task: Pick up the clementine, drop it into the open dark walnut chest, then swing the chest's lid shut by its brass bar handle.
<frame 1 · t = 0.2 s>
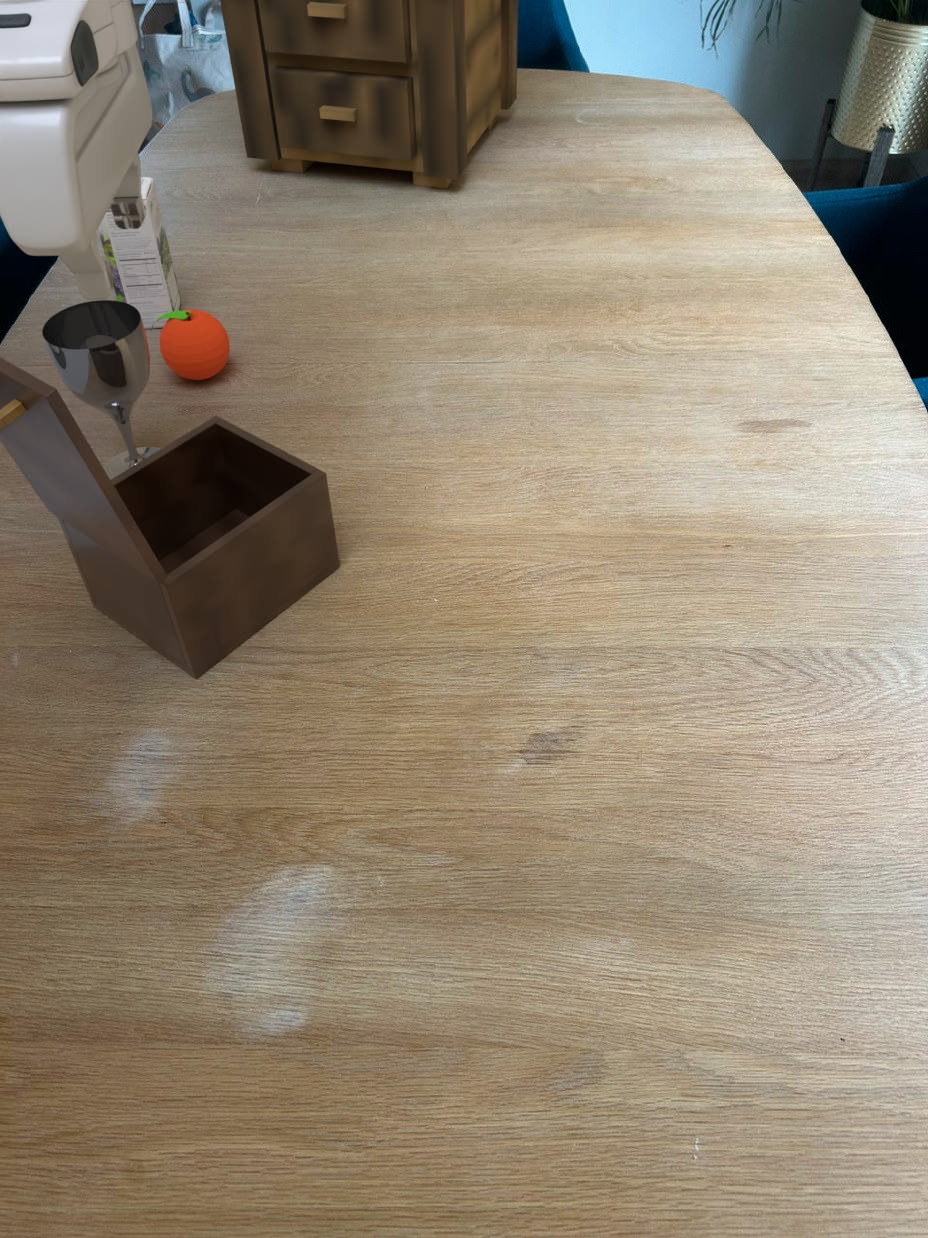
hand: (116, 257, 64), 27 cm above the table, tool pointing down, fingers open, 8 cm apart
lid: (27, 478, 63), point 18 cm above the table, hinge at 100.0°
clementine: (197, 375, 104), on the table
chest: (218, 586, 82), on the table
wooden drawer cabinet: (389, 144, 146), on the table
syrup box: (155, 318, 113), on the table
wine glass: (139, 472, 93), on the table
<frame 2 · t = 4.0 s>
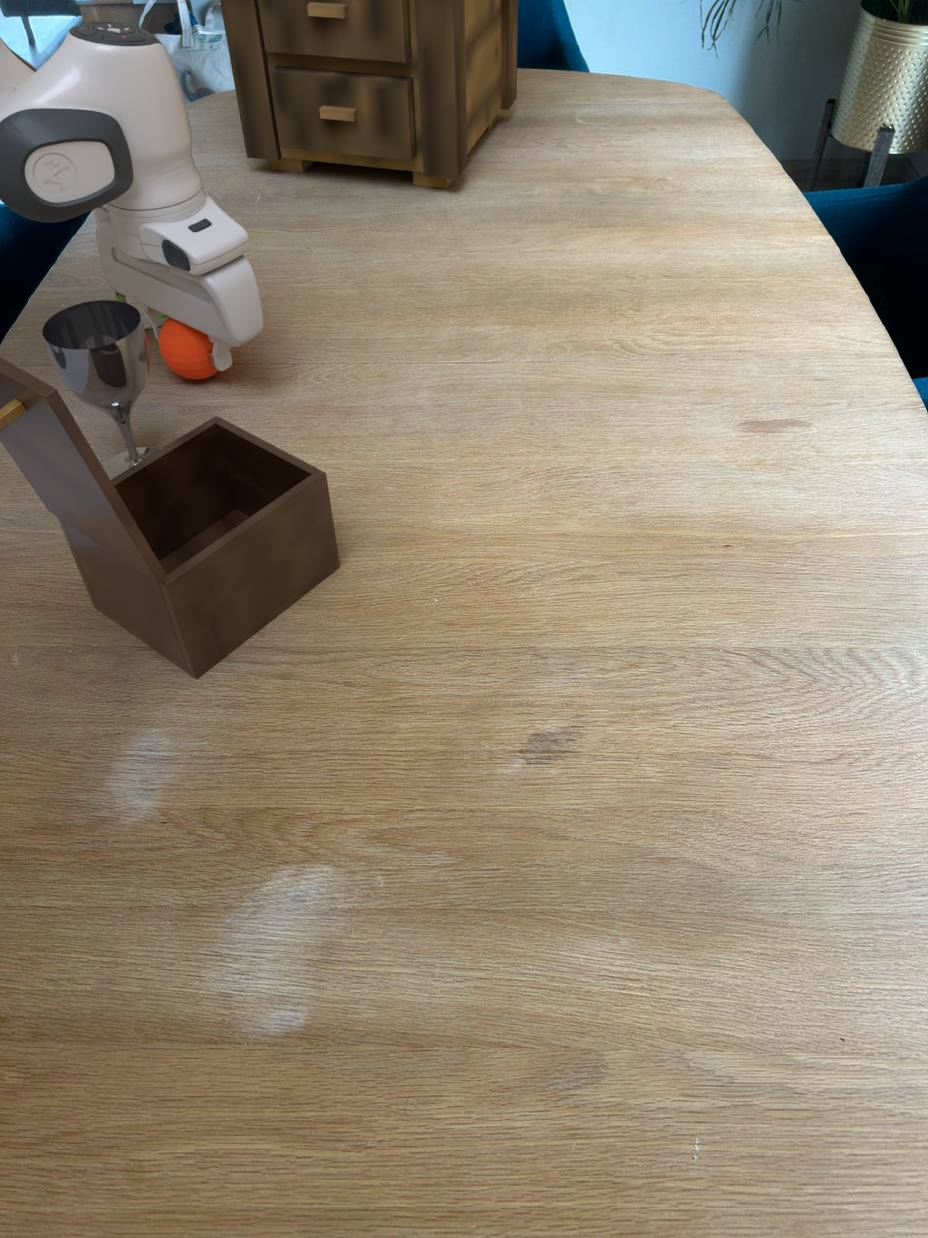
hand: (194, 353, 102), 2 cm above the table, tool pointing down, fingers closed on clementine, 7 cm apart
clementine: (196, 375, 104), on the table, touching gripper
everything else where it was.
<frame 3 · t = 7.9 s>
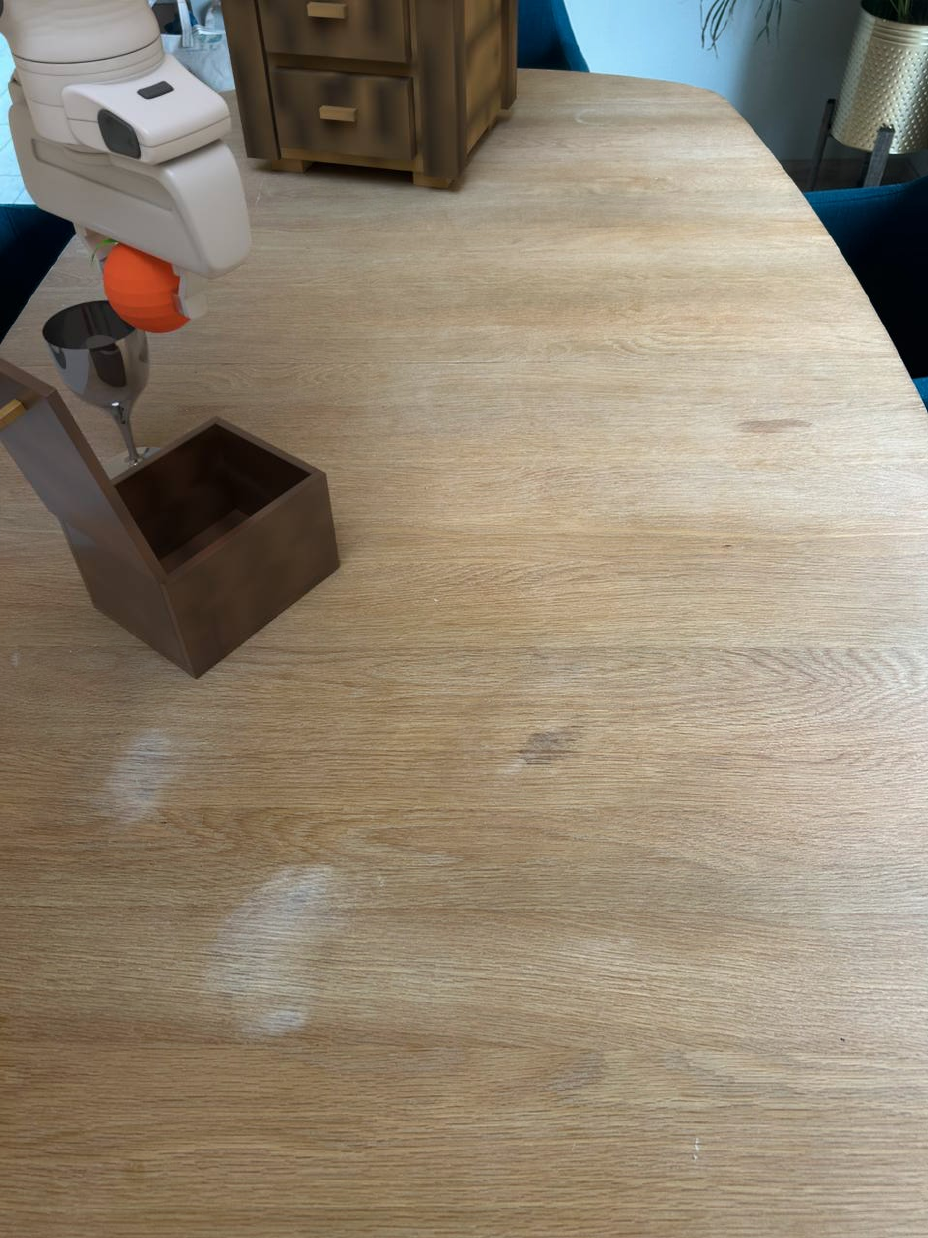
hand: (154, 296, 72), 21 cm above the table, tool pointing down, fingers closed on clementine, 7 cm apart
clementine: (159, 328, 74), point 19 cm above the table, touching gripper
everything else where it was.
when the fingers open (9 cm above the table, at t = 12.2 s): clementine drops 5 cm, resting on chest.
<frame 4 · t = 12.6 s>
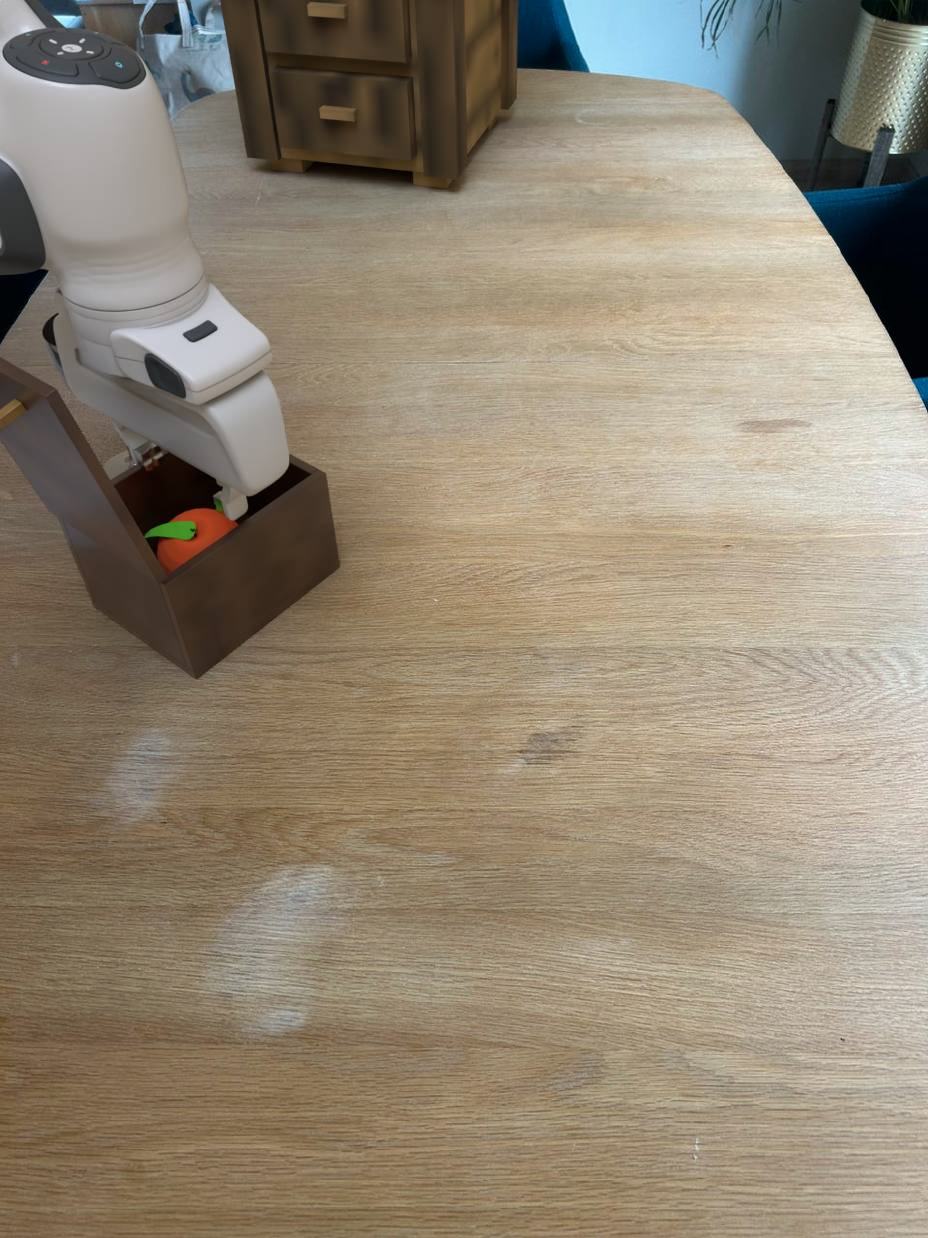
hand: (190, 487, 74), 10 cm above the table, tool pointing down, fingers open, 8 cm apart
clementine: (208, 575, 81), point 1 cm above the table, touching chest
everything else where it was.
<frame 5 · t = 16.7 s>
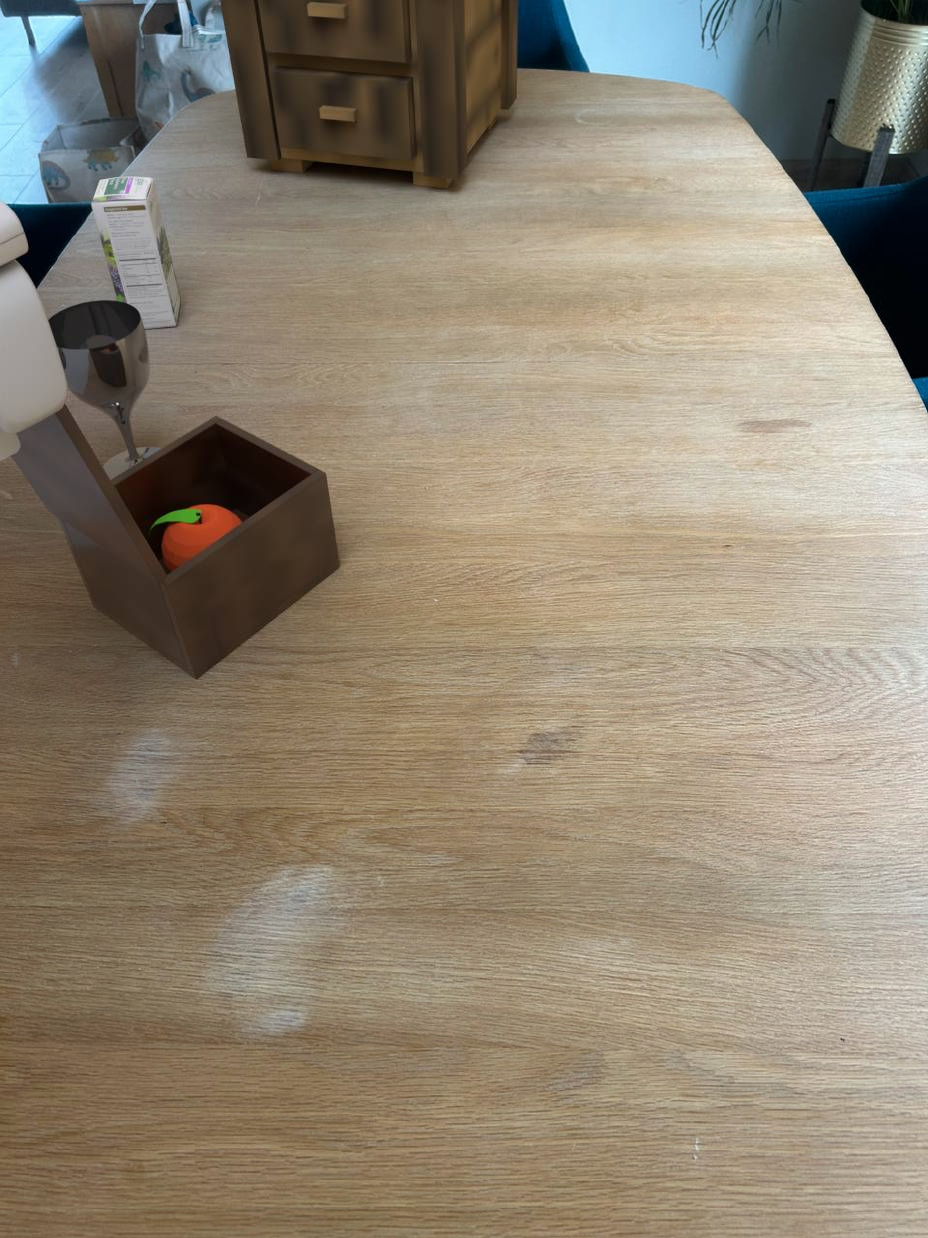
lid: (27, 478, 63), point 18 cm above the table, hinge at 100.0°, touching gripper
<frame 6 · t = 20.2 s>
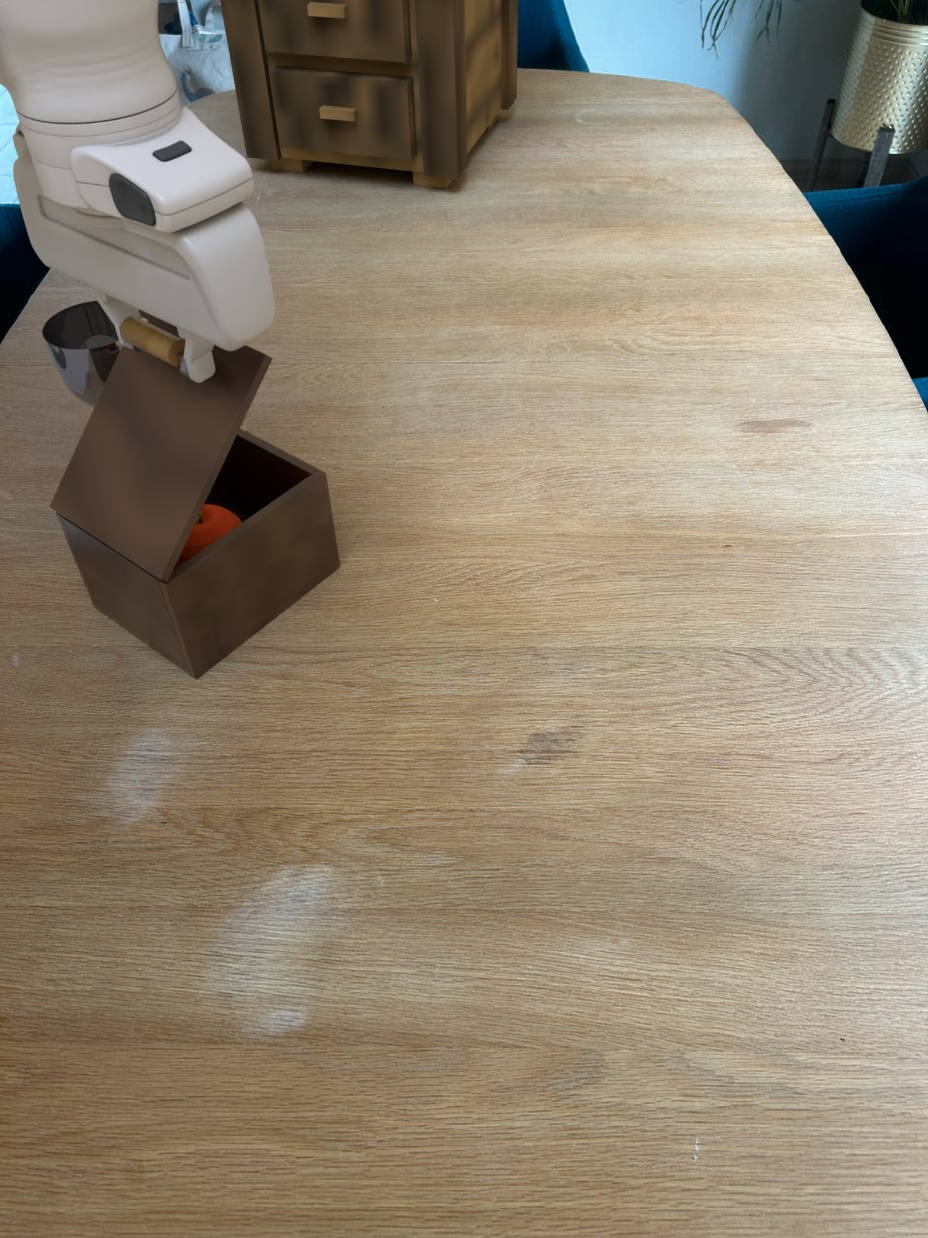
hand: (168, 360, 67), 21 cm above the table, tool pointing down, fingers closed on lid, 5 cm apart
lid: (134, 427, 68), point 17 cm above the table, hinge at 42.5°, touching gripper
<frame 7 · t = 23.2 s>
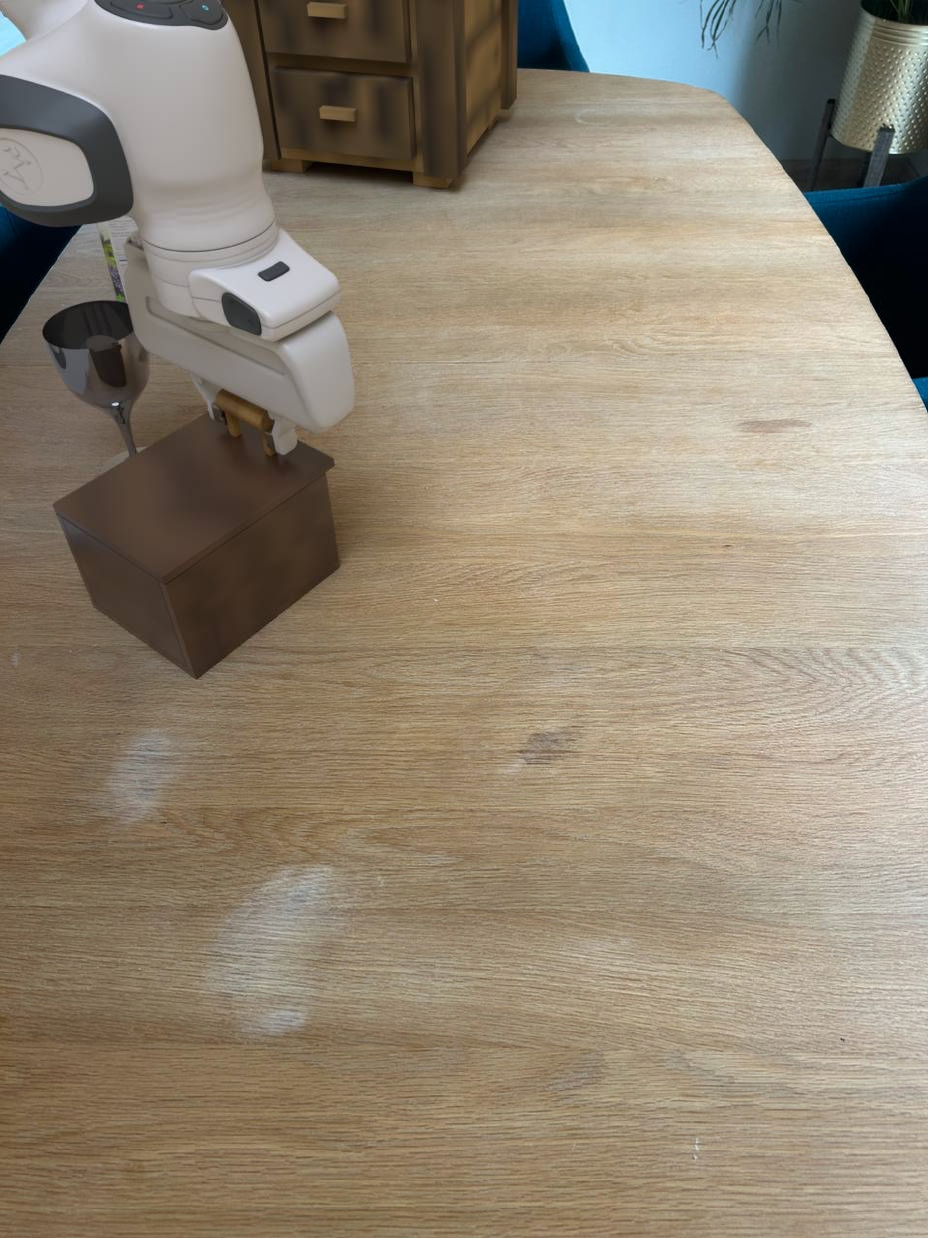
hand: (254, 433, 77), 11 cm above the table, tool pointing down, fingers closed on lid, 5 cm apart
lid: (191, 462, 73), point 12 cm above the table, hinge at -0.2°, touching chest, gripper
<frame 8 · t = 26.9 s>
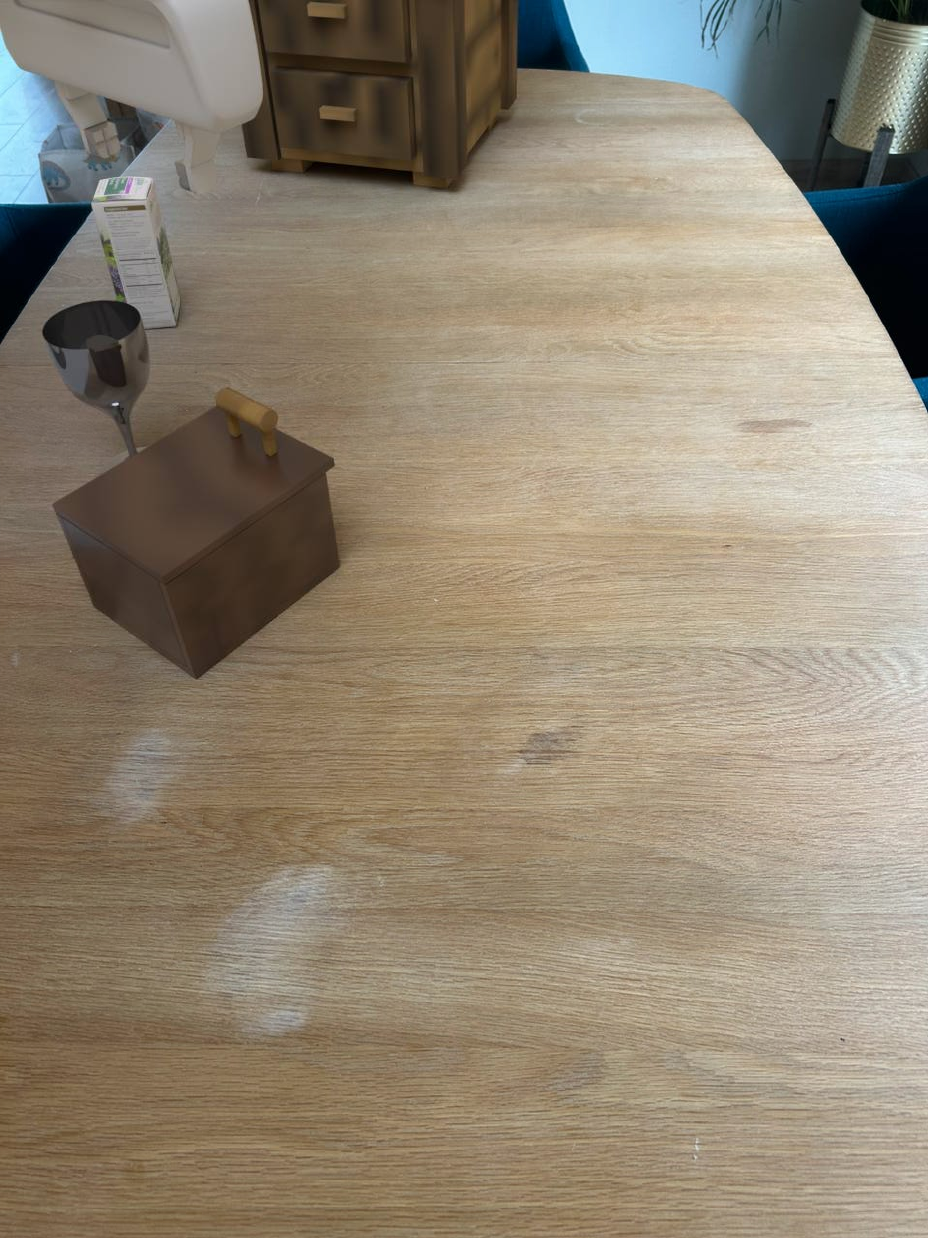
hand: (150, 171, 63), 31 cm above the table, tool pointing down, fingers open, 8 cm apart
lid: (191, 462, 73), point 12 cm above the table, hinge at -0.2°, touching chest
at the end: clementine inside the target area in the chest (0.6 cm from its centre), point 0.6 cm above the chest's base; lid at +0° (first picture: +100°) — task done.
